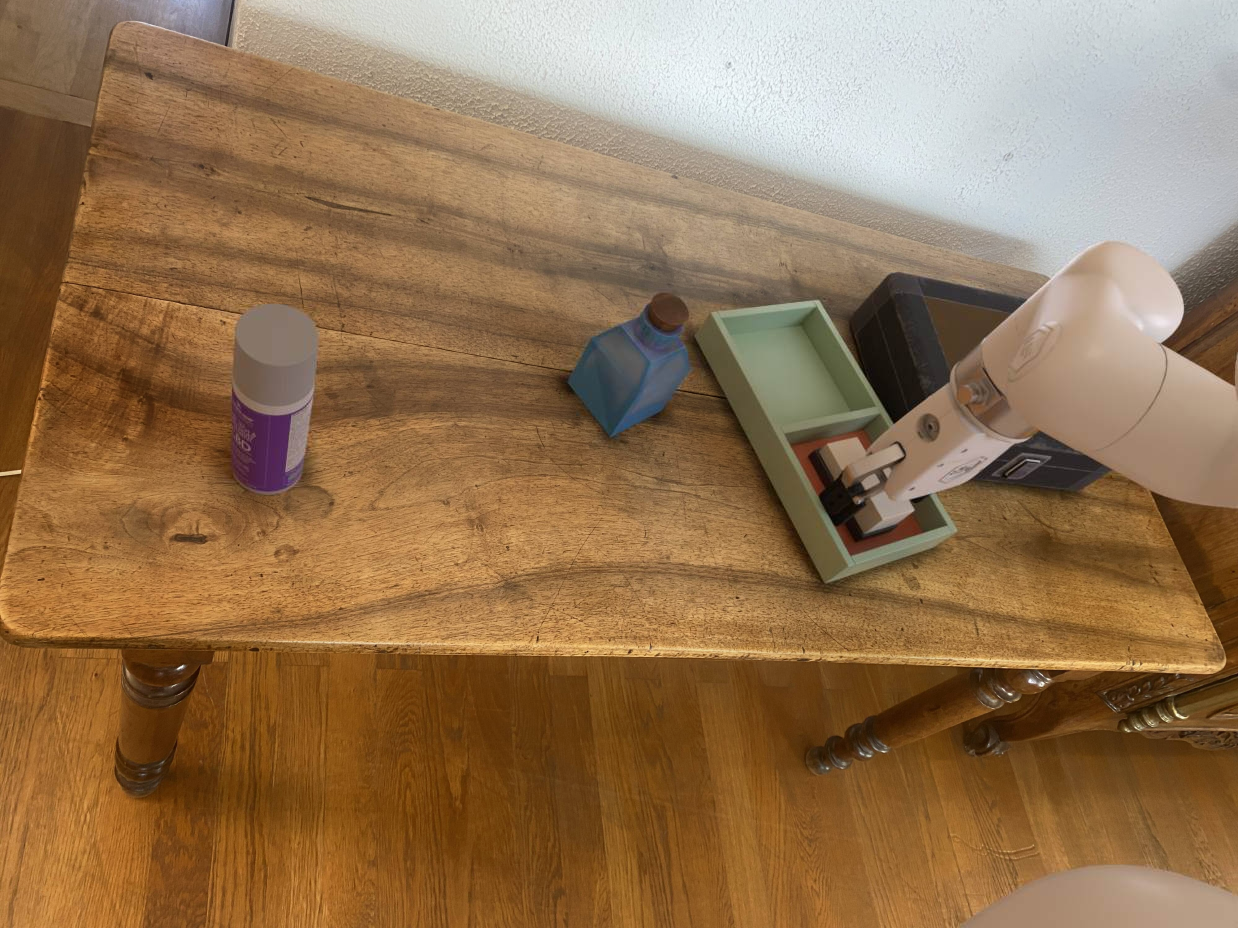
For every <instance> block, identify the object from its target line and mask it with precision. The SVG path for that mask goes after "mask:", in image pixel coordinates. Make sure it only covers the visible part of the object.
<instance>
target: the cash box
mask: <svg viewBox="0 0 1238 928" xmlns="http://www.w3.org/2000/svg"><path fill="white" fill-rule="evenodd" d="M1028 299H1029V298H1025V297H1020V296H1015V295H1010V294H1006V293H1002V292H996V291H991V290H987V289H982V288H979V287H974V286H968V285H963V284H958V283H954V282H949V281H945V280H940V279H935V278H930V277H925V276H921V275H917V274H911V273H907V272H902V271H896V272H891V273H889V274H887V275H886V276H885V278H884V279H883V280H882V281H881V282H880V283H879V284H878V286H877V287H876V288H875V289H874V290H873V291H872V292H871V293H870V294H869V295H868V297H867V298H866V299H865V300H863V302H862V303H861V304H860V306H859V307H858V308H857V309H856V310H855V311H854V312H853V313H852V315H851V321H850V326H851V329H852V332H853V336H854V338H855V342H856V346H857V349H858V353H859V356H860V359H861V363H862V366H863V368H864V372H865V375H866V376H865V377H866V379H867V381H868V382H869V384H870V386H871V387H872V389H873V391H874V392H875V394H876V396H877V397H878V399H879V401H880V402H881V404H882V405H883V407H884V409H885V410H886V412H887V414H888V415H889V417H890V419H891V420H892V422H893V424H895V423H896V422H898V421H899V420H900V419H901V418H902V417H904V416H905V415H906V414H908V413H909V412H910V411H911V410H913V409H914V408H915V407H917V406H918V405H919V404H920V403H922V402H923V401H924V400H926V399H927V398H928V397H929V396H931V395H933V394H934V393H935V392H937V391H938V390H939V389H941V388H942V387H944V386H945V385H946V384H948V383H949V382H950V375H951V371H952V369H953V367H954V366H955V365H956V364H957V363H958V362H959V361H960V360H961V359H962V358H963V357H965V356H966V355H967V354H968V353H969V352H970V351H971V350H972V349H973V348H975V347H976V346H977V345H978V344H979V343H980V342H981V341H982V340H984V339H985V338H986V337H987V336H988V335H989V334H990V333H991V332H992V331H993V330H995V329H996V328H997V327H998V326H999V325H1000V324H1001V323H1002V322H1004V321H1005V320H1006V319H1007V318H1008V317H1009V316H1010V315H1011V314H1012V313H1014V312H1015V311H1016V310H1017V309H1018V308H1019V307H1020V306H1021V305H1023V304H1024V303H1025V302H1026V301H1027V300H1028ZM1112 471H1113V470H1112V469H1111V468H1109V467H1107V466H1105V465H1103V464H1102V463H1100V462H1098V461H1096V460H1094V459H1092V458H1091V457H1089V456H1087V455H1085V454H1083V453H1082V452H1080V451H1077V450H1074V449H1073V448H1071V447H1069V446H1067V445H1065V444H1064V443H1062V442H1060V441H1058V440H1056V439H1054V438H1053V437H1051V436H1049V435H1047V434H1045V433H1044V432H1042V431H1039V432H1037V433H1036V434H1034V435H1033V436H1032V437H1030V438H1029V439H1028V440H1026V441H1024V442H1021V443H1015V444H1013V445H1012V446H1011V447H1010V448H1009V449H1007V450H1006V451H1005V452H1004V453H1002V454H1001V455H1000V456H999V457H997V458H996V459H995V460H994V461H993V462H991V463H990V464H989V465H988V466H986V467H985V468H984V469H983V470H981V471H980V472H979V473H978V474H976V475H975V476H974V477H972V478H971V479H970V480H975V481H983V482H994V483H1002V484H1012V485H1020V486H1029V487H1038V488H1045V489H1055V490H1065V491H1072V492H1073V491H1074V492H1077V491H1080V490H1082V489H1084V488H1086V487H1088V486H1090V485H1091V484H1093V483H1094V482H1097V481H1098V480H1099V479H1101V478H1103V477H1104V476H1106V475H1107V474H1109V473H1112Z"/></svg>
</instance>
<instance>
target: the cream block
mask: <svg viewBox="0 0 1238 928" xmlns="http://www.w3.org/2000/svg"><path fill="white" fill-rule="evenodd" d="M865 456H866V451H865V450H864V448H863V446H862V444H861V443H860V441H859V439H858V437H855V438H850V439H846V440H841V441H837V442H833V443H828V444H826V445H825V446H824V447H823V448H819V449H815V450H814V451H813V452H812V453H810V454H809V455H808V457H809V459H810V461H811V463H812V465H813V466H814V468H815V470H816V472H817V474H818V476H819V477H820V479H821V481H822V483H823V485H824V486H825V488H827V487H828V486H829V485H830V484H831V483H832V482H834V481H835V480H836V479H837V478H838V477H839V475H840V474H841V473H842V470H844V469H845V467H846V466H847V465H849V464H850V463H852V462H855V461H857V460H859V459H862V458H864V457H865ZM883 471H884V473H885V475H886V476H887V478H888V477H889V475H890V473H891V469H890V467H889V468H887V469H884V470H883ZM878 483H880V481H879V479H878V477H877V476H876V474H873V475H870V476H868V477H867V478H865V479H864V481H863V482H861V484H862V486H863V488H864V490H867V489H869V488H870V487H872V486H874V485H876V484H878ZM866 504H867V505H866V506H865V507H864V508H863V509H861V510H860V511H859V512H858V513H856V514H855V515H854V516H853V517H851V518H850V519H849V520H848V521H846V522H845V525H846V526H847V528H848V530H849V532H850V534H851V535H852V537H853V539H854V541H855V542H859V541H862V540H866V539H869V538H872V537H875V536H879V535H882V534H885V533H888V532H891V531H892V530H893V529H895V528H896V527H897V526H898V525H897V523H898V522H900V521H901V520H902V519H904V518H905V517H907V516H908V515H909V514H911V513H912V512H913V511H914V508H913V506H912V505H911V503H910V501H909V500H905V501H893V500H890V499H889V498H888V495H887V494H886V492H885V491H883V492H881V493H879V494H877V495H876V496H874V497H872V498H870V499H868V500H866Z"/></svg>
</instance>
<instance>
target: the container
mask: <svg viewBox="0 0 1238 928" xmlns="http://www.w3.org/2000/svg"><path fill="white" fill-rule="evenodd" d="M319 335H320V334H319V330H318V328H317V326H316V324H315V322H314V321H313V320H312V318H311V317H309V316H308V314H306V313H304V312H303V311H301V310H300V309H298V308H296V307H293V306H290V305H287V304H283V303H282V304H281V303H264V304H259V305H256V306H253V307H251V308H249V309H248V310H246V311H245V312H244V313H242V314H241V316H240V317H238V320H237V321H236V324H235V328H234V344H233V345H234V346H233V361H232V374H231V375H232V378H231V452H230V453H231V462H230V463H231V473H232V475H233V477H234V479H235V481H236V482H237V483H238V485H240V486H241V487H242V488H243V489H245V490H247V491H249V492H250V493H253V494H258V495H263V496H272V495H273V496H274V495H278V494H282V493H284V492H287V491H288V490H290V489H292V488H294V486H295V485H296V484H297V483H298V482H299V480H300V479H301V477H302V474H303V470H304V463H305V457H306V450H307V442H308V436H309V430H310V423H311V415H312V409H313V408H312V407H313V401H314V394H315V383H316V376H317V375H316V374H317V363H318V352H319V341H320V336H319Z"/></svg>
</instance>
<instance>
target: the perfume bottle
mask: <svg viewBox="0 0 1238 928" xmlns="http://www.w3.org/2000/svg"><path fill="white" fill-rule="evenodd" d="M689 318H690V311H689V308H688V306H687V305H686V303H685V302H684V300H682V299H681V298H680V297H678V296H677V295H675V294H673V293H671V292H665V291H664V292H658V293H656V294H654V295H653V296H652V298H651V300H650V302H649V303H647V304H646V305H645V307H644V308H643V309H642V311H641V313H640V315H639V316H636V317H634V318H632V319H630V320H627V321H625V322H622V323H621V324H618V325H616V326H614V327H611V328H610V329H607V330H606V331H602V332H600V333H599V334H597V335H595V336H592V337H590V339H589V340H588V342H587V345H586V346H585V348H584V350H583V352H582V354H581V355H580V358H579V360H578V361H577V363H576V365H575V367H574V369H573V371H572V372H571V374H570V376H569V378H568V380H567V381H566V382H567V384H568V385H569V387H570V388H571V389H572V390H573V392H574V393H575V394H576V396H577V397H578V398H579V400H580V401H581V403H582V404H584V406H585V407H586V408H587V410H588V411H589V412H590V413H591V415H592V416H593V418H594V419H595V420H596V421H597V422H598V424H599V425H600V426H601V427H602V429H603V430H604V432H605V433H606V435H608V437H609V438H612V437H614V436H616V435H618V434H620V433H621V432H624V431H626V430H628V429H629V428H631V427H633V426H636V425H637V424H639V423H641V422H643V421H645V420H647V419H649V418H650V417H652V416H654V415H656V414H658V413H660V412H662V410H663V409H664V408H665V406H666V405H667V404H668V403H669V401H670V399H671V398H672V396H673V395H674V394H675V392H676V391H677V389H678V388H679V387H680V385H681V384H682V382H683V381H684V380H685V379H686V377H687V376H688V374H689V373H690V372H691V366H690V361H689V356H688V350H687V345H686V344H685V343H684V342H683V341H682V340H681V338H680V335H681V334H682V332H683V331H684V328H685V324H686V323H687V322H688V320H689Z"/></svg>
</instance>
